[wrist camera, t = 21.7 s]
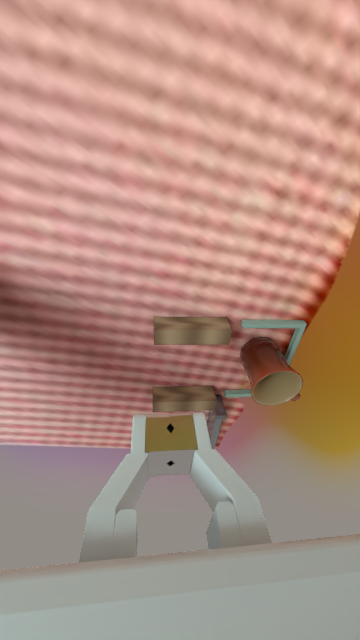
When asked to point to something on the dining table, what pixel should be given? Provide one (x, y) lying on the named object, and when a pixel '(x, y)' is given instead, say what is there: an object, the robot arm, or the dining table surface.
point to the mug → (269, 373)
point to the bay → (290, 351)
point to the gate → (216, 420)
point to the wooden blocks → (188, 334)
